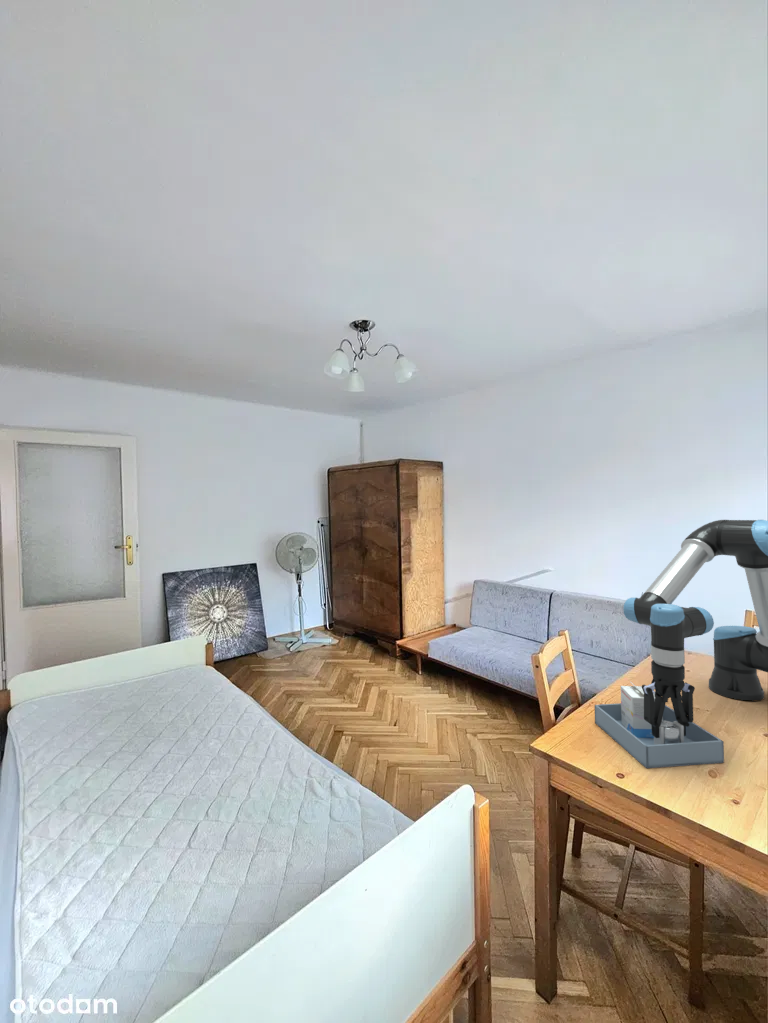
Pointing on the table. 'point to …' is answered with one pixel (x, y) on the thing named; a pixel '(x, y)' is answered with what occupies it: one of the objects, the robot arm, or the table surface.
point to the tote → (691, 752)
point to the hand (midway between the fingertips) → (668, 747)
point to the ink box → (634, 711)
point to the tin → (670, 732)
